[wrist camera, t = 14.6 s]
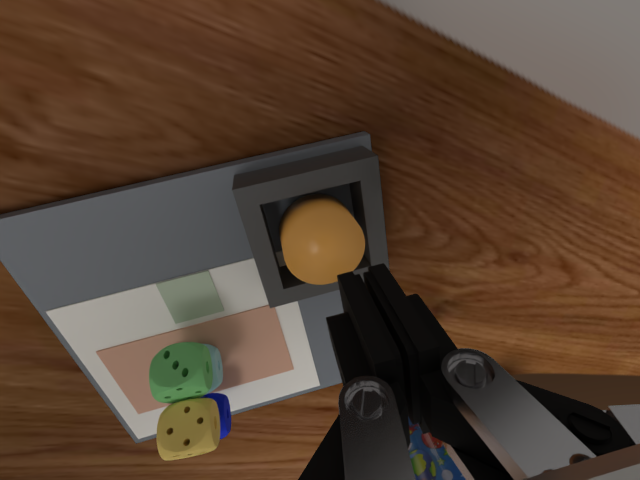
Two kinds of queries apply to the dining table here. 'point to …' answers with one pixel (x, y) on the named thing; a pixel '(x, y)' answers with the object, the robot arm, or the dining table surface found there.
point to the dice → (189, 399)
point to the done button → (320, 239)
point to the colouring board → (195, 274)
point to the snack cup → (430, 457)
